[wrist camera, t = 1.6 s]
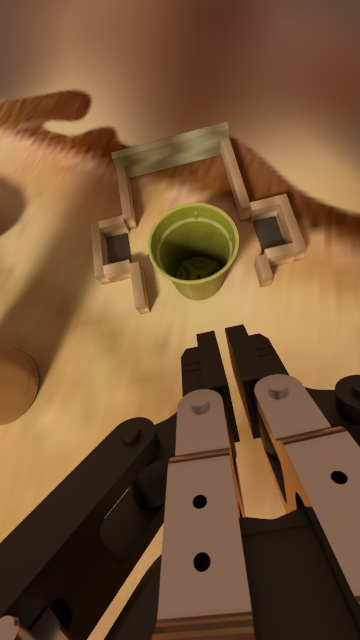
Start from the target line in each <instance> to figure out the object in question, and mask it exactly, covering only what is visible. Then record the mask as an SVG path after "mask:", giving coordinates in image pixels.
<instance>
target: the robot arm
mask: <svg viewBox="0 0 360 640" xmlns="http://www.w3.org/2000/svg"><path fill="white" fill-rule="evenodd" d="M225 333H226V338H227V343H228V348H229V354H230V359H231V364H232V368H233V372H234V376H235V379H236V383H237V386H238V389H239V393H240V396H241V399H242V403H243V406H244V409H245V413H246V416H247V419H248V422H249V426H250V429H251V432H252V436H253V439H255V438H260V437H261V440H262V443H263V447H264V453H265V458H266V461H267V464H268V466H269V469H270V471H271V474H272V477H273V479H274V482H275V485H276V487H277V490H278V492H279V495H280V498H281V500H282V503H283V506H284V508H285V511H286V514H285V515H283V516H281V517H279V518H276V519H259V518H248V517H246V516H245V510H244V504H243V498H242V492H241V486H240V480H239V474H238V468H237V462H236V455H237V454H236V448H235V443H234V442H239V441H240V439H239V435H238V430H237V425H236V420H235V415H234V411H233V406H232V401H231V396H230V391H229V386H228V382H227V378H226V374H225V371H224V367H223V363H222V359H221V355H220V351H219V347H218V344H217V340H216V336H215V332H214V331H210V332H205V333H201V334H196V335H197V342H198V347H194V348H189V349H186V350H185V352H184V353H183V355H182V357H181V366H182V390H183V398H182V399H181V400H180V402H179V404H178V407H177V412H176V413H175V414H174V415H173V416H171V417H170V418H168V419H166V420H164V421H162V422H160V423H158V424H156V425H154V424H153V422H152V421H151V420H149V419H147V418H143V417H136V418H132V419H129V420H126V421H124V422H122V423H121V424H119V425H118V426H117V427H116V428H115V429H114V430H113V431H112V432H111V433H110V434H109V435H108V436H107V437H106V438H105V439H104V440H103V441H102V442H101V443H100V444H99V445H98V446H97V447H96V448H95V449H94V450H93V451H92V452H91V453H90V454H89V455H88V456H87V457H86V458H85V459H84V460H83V461H82V462H81V463H80V464H79V465H78V466H77V467H76V468H75V469H74V470H73V471H72V472H71V473H70V474H69V475H68V476H67V477H66V478H65V479H64V480H63V481H62V482H61V483H60V484H59V485H58V486H57V487H56V488H55V489H54V490H53V491H52V492H51V493H50V494H49V495H48V496H47V497H46V498H45V499H44V500H43V501H42V502H41V503H40V504H39V505H38V506H37V507H36V508H35V509H34V510H33V511H32V512H31V513H30V514H29V515H28V516H27V517H26V518H25V519H24V520H23V521H22V522H21V523H20V524H19V525H18V526H17V527H16V528H15V529H14V530H13V531H12V532H11V533H10V534H9V535H8V536H7V537H6V538H5V539H4V540H3V541H2V542H1V543H0V640H87V638H88V637H89V635H90V634H91V632H92V631H93V629H94V628H95V626H96V625H97V623H98V622H99V620H100V619H101V617H102V616H103V614H104V613H105V611H106V610H107V608H108V606H109V605H110V603H111V602H112V600H113V599H114V597H115V596H116V594H117V593H118V591H119V590H120V588H121V587H122V585H123V584H124V582H125V581H126V579H127V578H128V576H129V575H130V573H131V571H132V570H133V568H134V567H135V565H136V564H137V562H138V561H139V559H140V558H141V556H142V555H143V553H144V552H145V550H146V549H147V547H148V546H149V544H150V543H151V541H152V539H153V538H154V536H155V535H156V533H157V532H158V530H159V529H160V527H161V526H162V524H163V523H164V530H163V545H162V554H161V555H160V556H159V557H158V558H157V559H156V560H155V561H154V563H153V564H152V565H151V566H150V568H149V569H148V570H147V571H146V573H145V574H144V576H143V577H142V579H141V581H140V582H139V584H138V585H137V587H136V589H135V590H134V592H133V593H132V595H131V597H130V598H129V600H128V602H127V603H126V605H125V606H124V608H123V610H122V611H121V613H120V614H119V616H118V618H117V619H116V621H115V622H114V624H113V626H112V627H111V629H110V631H109V632H108V634H107V635H106V637H105V639H104V640H360V375H352V376H347V377H345V378H343V379H341V380H339V381H338V382H337V384H336V386H335V390H316V389H310V388H306V387H304V386H303V385H302V383H301V382H300V381H299V380H298V379H296V378H294V377H292V376H290V375H289V374H288V372H287V370H286V368H285V367H284V365H283V363H282V362H281V360H280V358H279V356H278V355H277V353H276V351H275V349H274V348H273V346H272V344H271V342H270V341H269V339H268V338H266V337H265V336H263V335H261V334H254V335H250V336H248V334H247V331H246V329H245V327H244V325H243V324H242V325H237V326H233V327H228V328H225ZM38 385H39V375H38V370H37V367H36V364H35V363H34V361H33V360H32V359H31V358H30V357H29V356H28V355H27V354H25V353H23V352H21V351H18V350H16V349H13V348H10V347H7V346H5V345H2V344H0V425H3V424H8V423H10V422H12V421H15V420H16V419H18V418H19V417H20V416H22V415H23V414H24V413H25V412H26V411H27V410H28V408H29V407H30V406H31V404H32V403H33V401H34V398H35V396H36V394H37V390H38ZM127 489H128V490H127ZM126 491H127V492H126ZM125 492H126V493H125ZM124 493H125V494H124ZM123 494H124V495H123ZM122 496H123V497H122ZM121 497H122V498H121ZM120 498H121V499H120ZM119 499H120V500H119ZM118 500H119V501H118ZM117 502H118V503H117ZM116 503H117V504H116ZM115 504H116V505H115ZM114 505H115V506H114ZM113 507H114V508H113ZM112 508H113V509H112ZM111 509H112V510H111ZM110 510H111V511H110ZM109 512H110V513H109ZM108 513H109V514H108ZM107 514H108V515H107ZM106 515H107V516H106ZM105 517H106V518H105Z"/></svg>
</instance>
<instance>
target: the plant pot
mask: <svg viewBox="0 0 360 640" xmlns="http://www.w3.org/2000/svg"><path fill="white" fill-rule="evenodd" d="M238 248H239V234H238V230H237V228H236V225H235V223H234V222H233V220H232V219H231V218H230V217H229V216H228V214H227V213H225V212H224V211H223V210H221V209H219V208H217V207H215V206H212V205H209V204H204V203H189V204H184V205H181V206H178V207H175V208H173V209H172V210H170V211H168V212H166V213H165V214H164V215H163V216H162V217H160V219H159V220H158V221H157V222H156V223H155V225H154V226H153V228H152V230H151V232H150V235H149V238H148V253H149V257H150V260H151V262H152V264H153V265H154V267H155V268H156V269H157V271H158V272H159V273H160V274H162V275H163V276H164V277H166V278H167V279H169V280H171V281H172V282H173V284H174V285H175V286H176V288H177V289H178V291H179V292H180V293H181V294H182V295H183V296H185V297H187V298H189V299H192V300H205V299H208V298H210V297H211V296H213V295H214V294H215V293H216V292H218V291H219V289H220V288H221V286H222V283H223V280H224V276H225V272H226V270H227V269H228V268H229V267H230V266H231V264H232V263H233V261H234V260H235V257H236V255H237V252H238ZM197 260H203V261H205V263H201V262H196V263H195V261H197ZM181 273H183V275H182V280H181V279H179V276H180V274H181ZM198 275H200V276H201V278H200V279H197V276H198Z"/></svg>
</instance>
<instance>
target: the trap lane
mask: <svg viewBox="0 0 360 640" xmlns="http://www.w3.org/2000/svg"><path fill="white" fill-rule="evenodd" d="M217 155H221V156H222V159H223V163H224V166H225V169H226V173H227V176H228V179H229V183H230V186H231V189H232V193H233V196H234V200H235V203H236V206H237V210H238V213H239V216H240V220H241V221H243V220H247V219H250V221H251V222H253V223H254V226H255V229H256V232H257V236H258V239H259V242H260V245H261V248H262V251H263V254H262V255H258V256H256V259H255V266H254V267H255V270H256V273H257V277H258V280H259V283H260V287H265V286H269V285H271V282H272V278H273V274H272V271H271V268H270V267H273V266H277V265H281V264H286V263H290V262H294V261H299V260H302V259H303V257H304V254H305V252H306V250H307V248H306V245H305V243H304V240H303V237H302V235H301V232H300V229H299V226H298V224H297V221H296V218H295V216H294V213H293V210H292V208H291V205H290V202H289V200H288V197H287V194H283V195H278V196H274V197H270V198H266V199H262V200H258V201H254V202H249V199H248V195H247V192H246V189H245V186H244V183H243V180H242V177H241V173H240V170H239V167H238V164H237V161H236V158H235V155H234V151H233V148H232V145H231V142H230V139H229V126H228V123H227V122H224V123H220V124H216V125H213V126H209V127H205V128H201V129H198V130H194V131H190V132H187V133H183V134H179V135H176V136H171V137H168V138H164V139H160V140H157V141H153V142H149V143H146V144H142V145H138V146H134V147H131V148H127V149H123V150H119V151H116V152H112V160H113V162H114V164H115V166H116V172H117V179H118V186H119V193H120V200H121V207H122V215H120V216H116V217H112V218H108V219H104V220H100V221H96V222H92V223H90V231H91V241H92V252H93V263H94V273H95V277H96V278H97V279H98V280H99V282H100V283H101V284H102V285H103V284H107V283H112V282H116V281H120V280H124V279H129V278H131V279H132V286H133V294H134V301H135V307H136V309H137V310H138V311H139V312H140V314H144V313H149V312H150V308H149V302H148V295H147V289H146V283H145V276H144V271H143V269H142V267H141V265H140V263H139V261H138V262H134V263H131V257H130V250H129V243H128V236H127V234H128V233H129V229H133V228H137V225H136V219H135V212H134V206H133V199H132V193H131V187H130V180H129V178H132V177H136V176H140V175H144V174H148V173H152V172H155V171H159V170H163V169H167V168H171V167H175V166H178V165H182V164H186V163H190V162H194V161H198V160H201V159H205V158H209V157H213V156H217ZM276 216H277V219H278V222H279V225H280V227H281V230H282V233H283V236H284V239H285V242H286V244H285V245H284V242H283V239H282V236H281V233H280V230H279V227H278V224H277V222H276V219H275V217H276ZM107 238H108V247H109V255H110V264H109V261H108V253H107V244H106V239H107Z"/></svg>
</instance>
